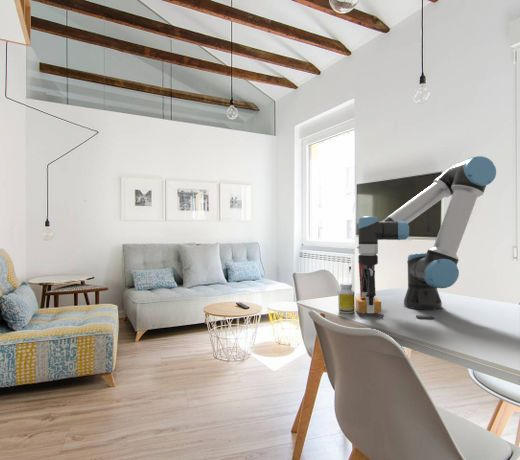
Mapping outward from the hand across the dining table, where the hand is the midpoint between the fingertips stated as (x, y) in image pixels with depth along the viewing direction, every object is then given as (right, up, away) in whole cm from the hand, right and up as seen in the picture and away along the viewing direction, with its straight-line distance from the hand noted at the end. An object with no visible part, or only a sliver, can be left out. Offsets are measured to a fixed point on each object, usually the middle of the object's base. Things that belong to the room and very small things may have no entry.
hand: (368, 310), depth 144 cm
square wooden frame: (0, 0, 0) cm, 0 cm away
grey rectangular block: (+19, -1, -9) cm, 21 cm away
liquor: (+7, -1, +24) cm, 24 cm away
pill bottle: (-8, -1, +2) cm, 9 cm away
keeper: (0, -1, 0) cm, 1 cm away
